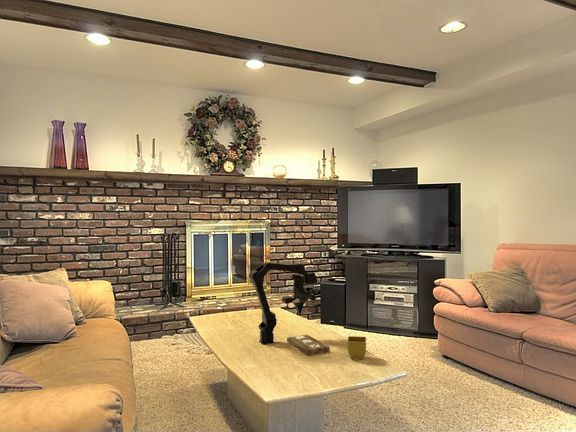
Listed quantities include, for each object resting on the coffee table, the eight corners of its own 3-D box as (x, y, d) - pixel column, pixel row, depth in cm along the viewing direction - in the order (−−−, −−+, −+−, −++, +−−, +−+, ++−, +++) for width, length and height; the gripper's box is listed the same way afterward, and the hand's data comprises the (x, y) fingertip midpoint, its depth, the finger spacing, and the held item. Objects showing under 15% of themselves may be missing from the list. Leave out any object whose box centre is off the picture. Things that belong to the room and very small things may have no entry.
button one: (298, 343, 220) (298, 338, 220) (295, 341, 223) (295, 336, 223) (305, 342, 221) (305, 337, 221) (302, 340, 225) (302, 335, 225)
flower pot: (366, 361, 190) (366, 342, 190) (347, 361, 192) (346, 341, 192) (366, 355, 199) (366, 336, 199) (348, 354, 200) (348, 336, 201)
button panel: (307, 355, 200) (307, 350, 201) (287, 342, 223) (287, 337, 223) (329, 351, 205) (329, 346, 205) (307, 339, 228) (307, 334, 228)
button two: (305, 347, 212) (305, 342, 212) (302, 345, 215) (302, 340, 215) (312, 346, 213) (312, 341, 213) (309, 344, 217) (309, 339, 217)
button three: (313, 352, 204) (313, 347, 204) (309, 350, 208) (309, 344, 208) (320, 351, 206) (320, 345, 206) (316, 348, 209) (316, 343, 209)
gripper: (289, 289, 221) (290, 319, 221) (320, 286, 229) (321, 314, 228) (281, 286, 231) (281, 314, 231) (311, 283, 239) (311, 311, 239)
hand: (299, 313), depth 232 cm, fingers closed
